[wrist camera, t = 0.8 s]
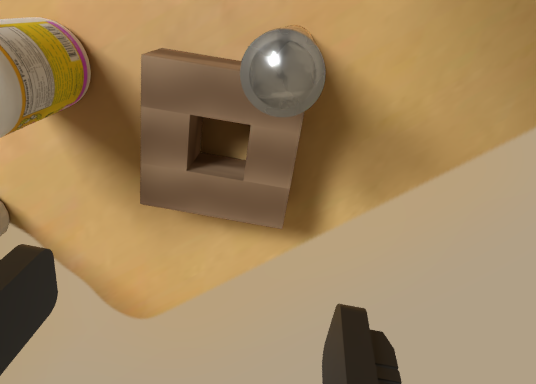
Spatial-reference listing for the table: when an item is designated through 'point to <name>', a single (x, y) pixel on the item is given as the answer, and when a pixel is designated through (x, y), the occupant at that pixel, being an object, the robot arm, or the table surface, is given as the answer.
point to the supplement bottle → (38, 71)
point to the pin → (283, 72)
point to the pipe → (3, 219)
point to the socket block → (189, 142)
